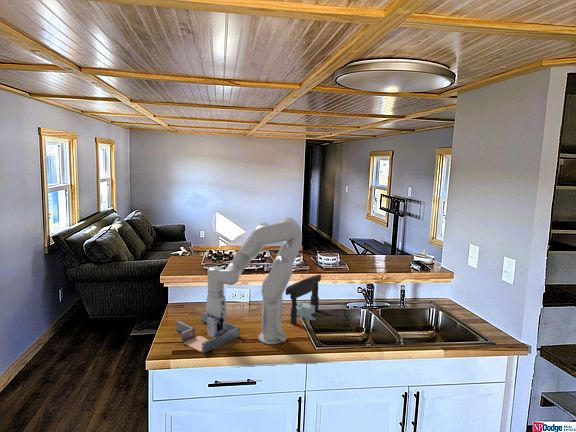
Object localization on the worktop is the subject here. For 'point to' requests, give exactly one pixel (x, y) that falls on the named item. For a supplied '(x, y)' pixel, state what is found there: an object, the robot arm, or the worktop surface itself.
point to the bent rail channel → (208, 345)
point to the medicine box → (213, 327)
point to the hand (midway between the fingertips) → (216, 328)
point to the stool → (300, 290)
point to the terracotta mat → (196, 343)
